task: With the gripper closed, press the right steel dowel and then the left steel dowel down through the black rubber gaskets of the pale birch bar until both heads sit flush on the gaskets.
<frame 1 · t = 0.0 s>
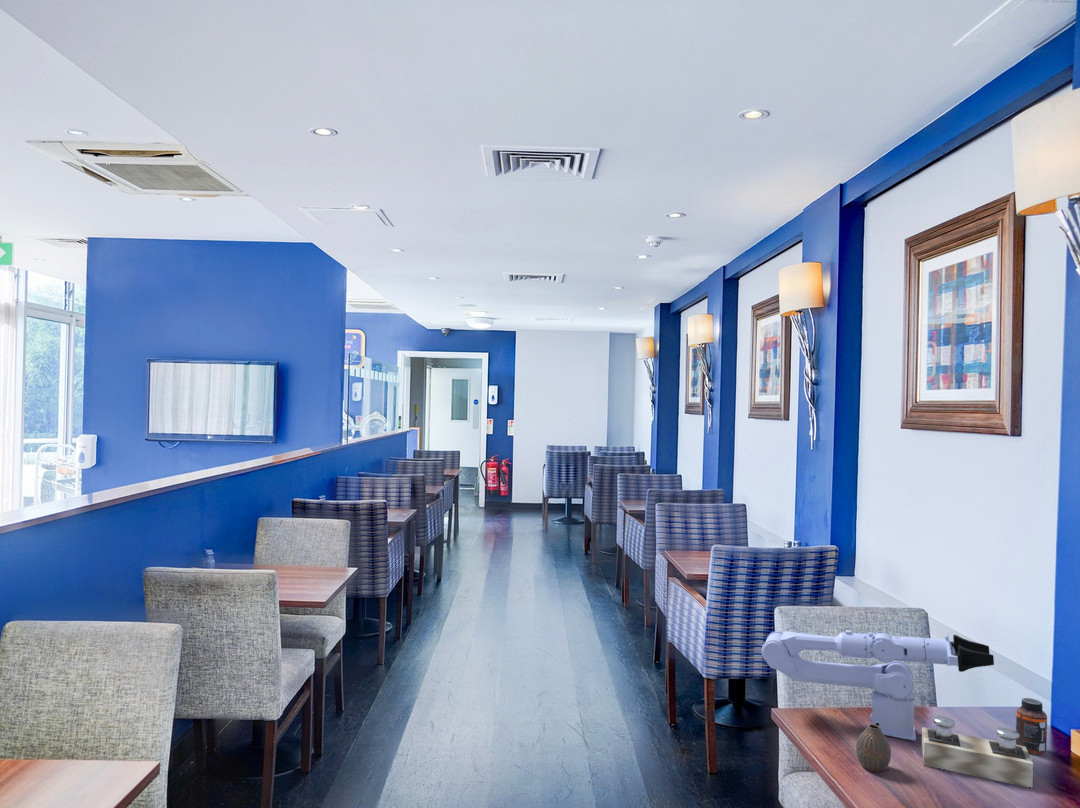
hand: (991, 655, 170), 22 cm above the table, tool horizontal, fingers open, 7 cm apart
supplement bottle: (1030, 750, 171), on the table
vase: (872, 768, 159), on the table
dowel right: (1007, 742, 158), point 7 cm above the table, slide at 0.0 cm
dowel left: (943, 730, 163), point 7 cm above the table, slide at 0.0 cm
birch bar: (974, 767, 161), on the table
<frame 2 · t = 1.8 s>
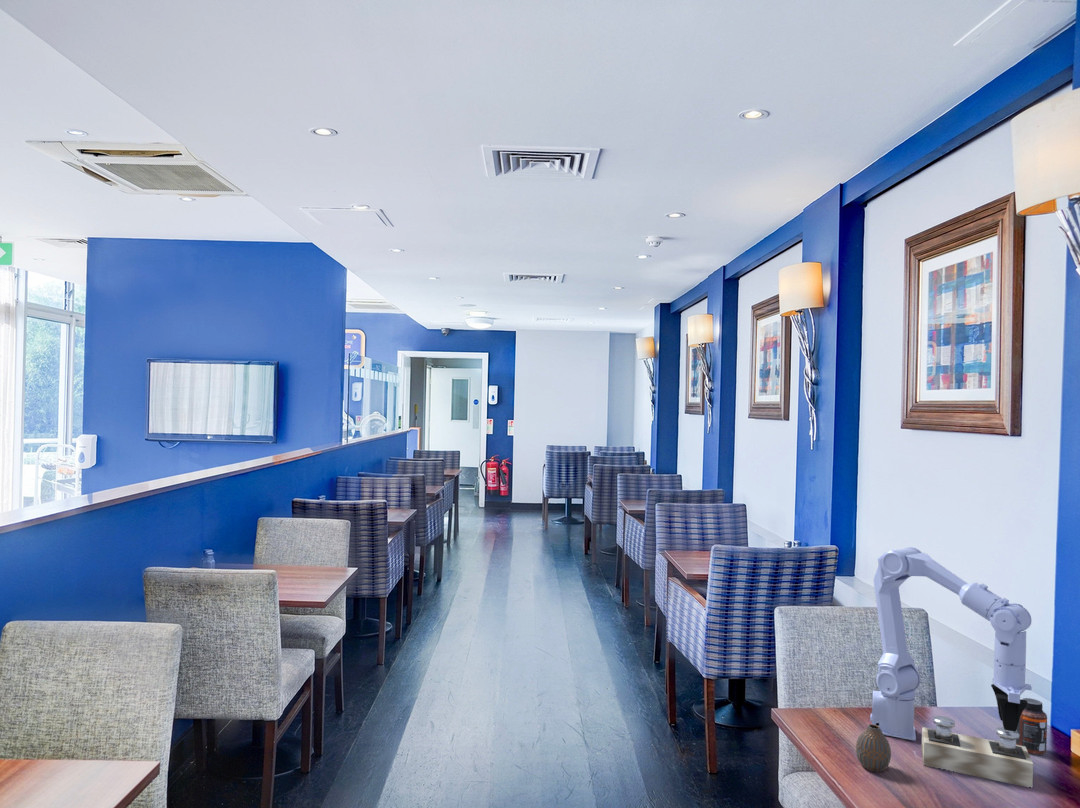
hand: (1007, 725, 158), 10 cm above the table, tool pointing down, fingers open, 5 cm apart
nothing on the table moved.
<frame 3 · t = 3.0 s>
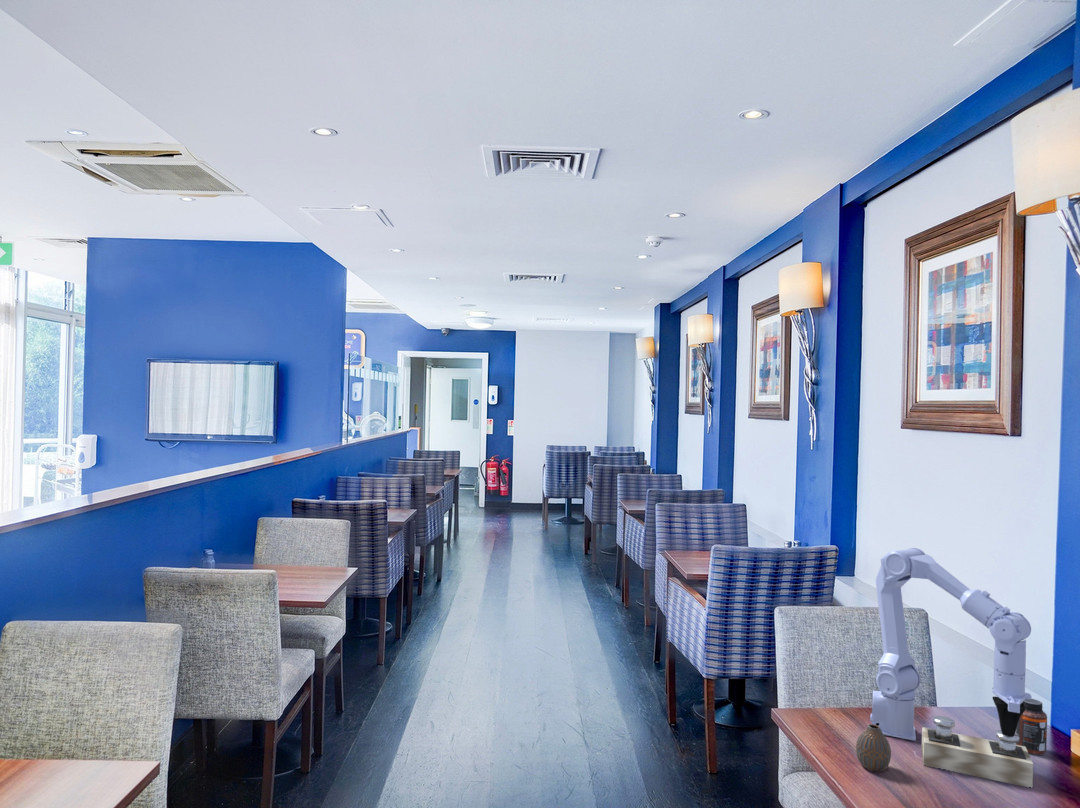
hand: (1007, 734, 158), 8 cm above the table, tool pointing down, fingers closed, pressing on dowel right
dowel right: (1007, 745, 158), point 6 cm above the table, slide at 0.6 cm, touching gripper
everything else where it was.
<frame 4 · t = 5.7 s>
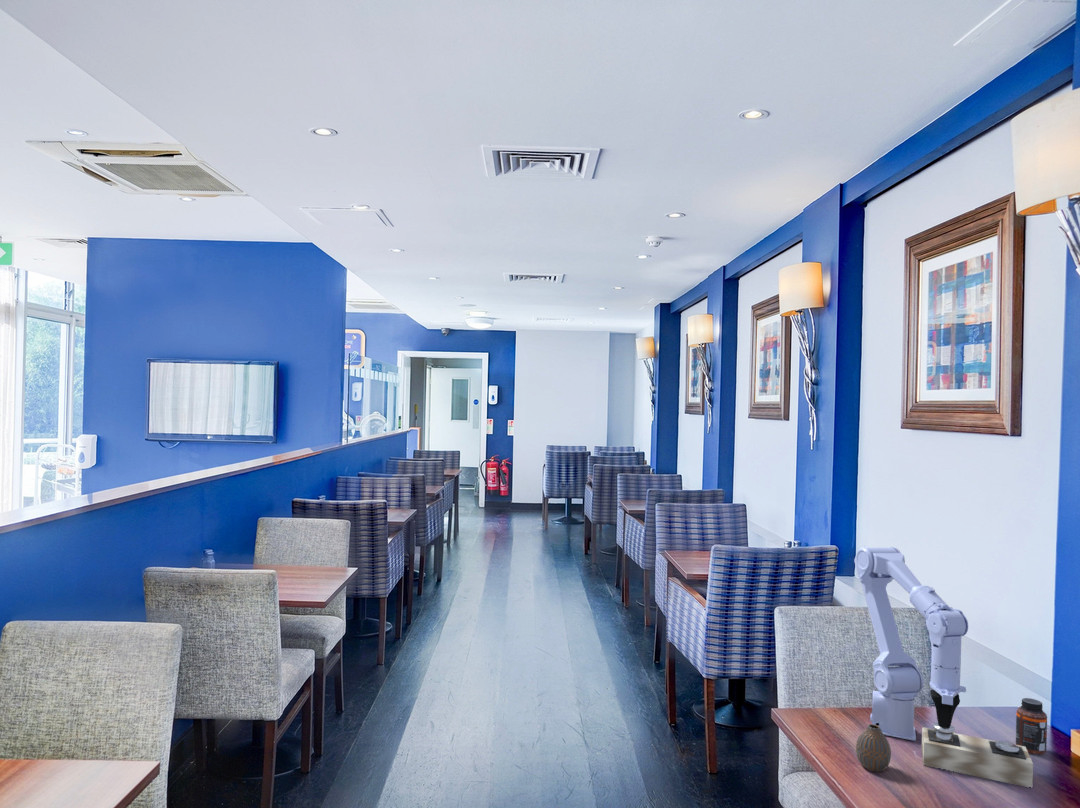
hand: (943, 726, 163), 8 cm above the table, tool pointing down, fingers closed, pressing on dowel left
dowel right: (1006, 756, 158), point 4 cm above the table, slide at 3.0 cm
dowel left: (943, 737, 163), point 5 cm above the table, slide at 1.4 cm, touching gripper
everything else where it was.
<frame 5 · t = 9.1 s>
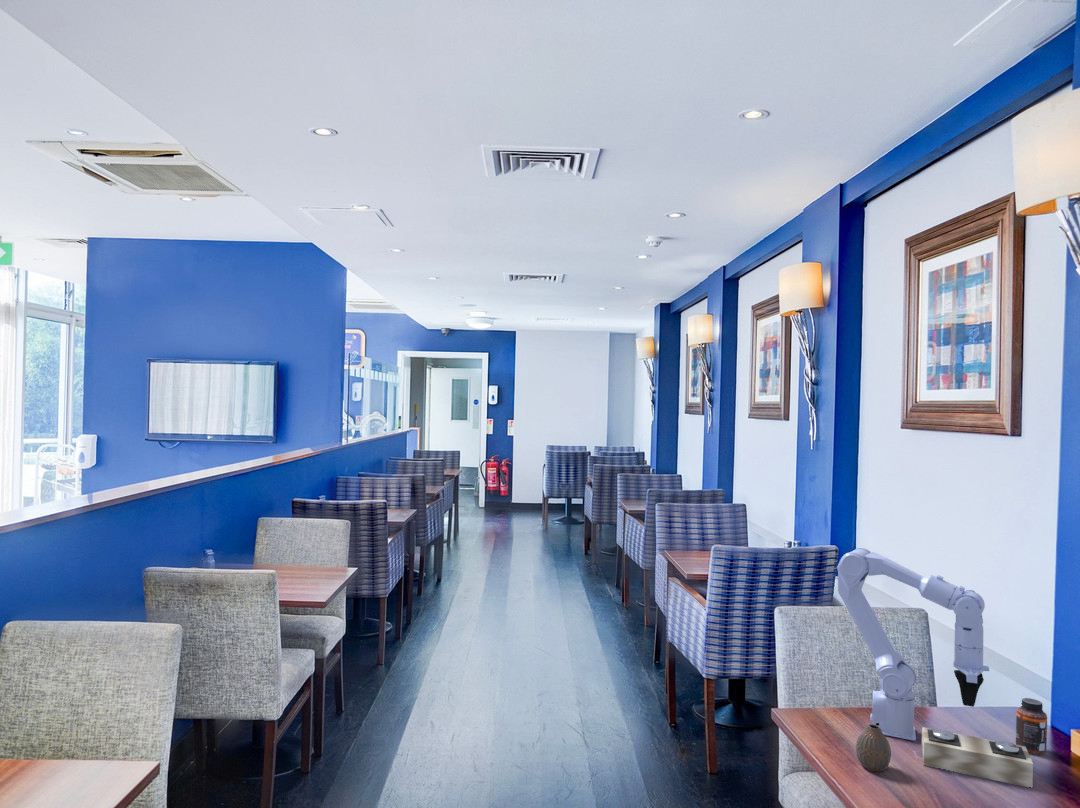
hand: (968, 705, 169), 10 cm above the table, tool pointing down, fingers closed
dowel left: (943, 744, 163), point 4 cm above the table, slide at 3.0 cm, touching birch bar
everything else where it was.
at the end: dowel right slide at 3.0 cm; dowel left slide at 3.0 cm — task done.
